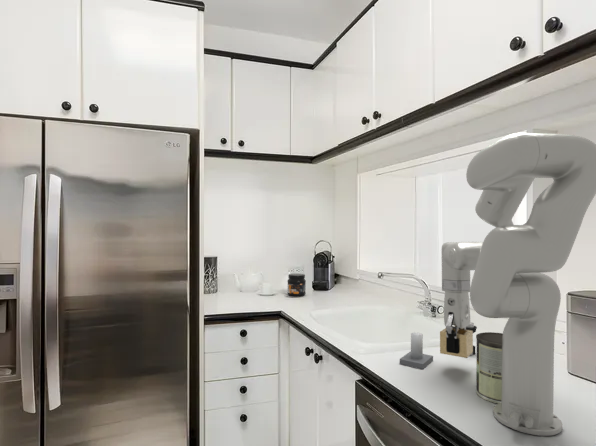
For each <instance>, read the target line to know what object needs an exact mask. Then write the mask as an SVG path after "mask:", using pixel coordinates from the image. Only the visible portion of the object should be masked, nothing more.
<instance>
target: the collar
mask: <svg viewBox="0 0 596 446" xmlns="http://www.w3.org/2000/svg"><path fill="white" fill-rule="evenodd" d="M452 330H453V329H452ZM454 332H455V330H454ZM446 333H447V332H446V327H445V328H444V329H442V330H441V331H439V354H442V355H447V356H448V355H449V356H453V357H458V358H459V357H460V358H465V359H467V358H469V356H471V355H470V354H471V353H472V352H473V346H474V342H473V340H474V336H473V335H474V333H473V331H472V330H465V329H459V330H458V339H459V353H458V354H456V353H450V352H447V351H446Z"/></svg>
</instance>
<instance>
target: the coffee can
mask: <svg viewBox="0 0 596 446" xmlns="http://www.w3.org/2000/svg"><path fill="white" fill-rule="evenodd" d="M502 335H503V332H489V331H488V332H480V333H477V334H476V336H475V339H476V367H475V368H476V374H475V376H476V378H475V379H476V381H475V382H476V383H475V384H476V385H475V387H476V390H475V393H476V394H477V396H479V398H481V399H483V400H485V401H487V402H490V403H494V404H496V405H497V404H499V403H502Z"/></svg>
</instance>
